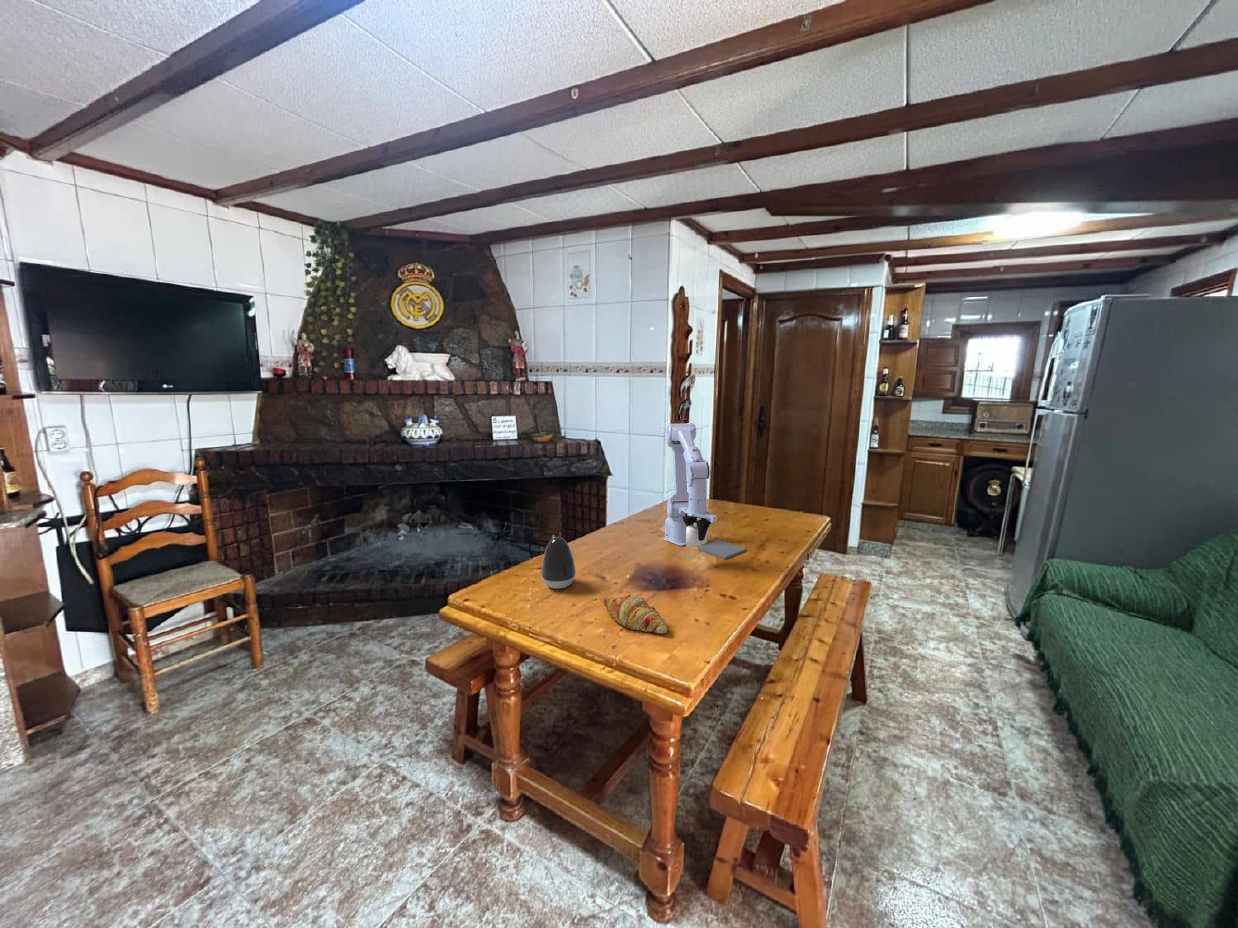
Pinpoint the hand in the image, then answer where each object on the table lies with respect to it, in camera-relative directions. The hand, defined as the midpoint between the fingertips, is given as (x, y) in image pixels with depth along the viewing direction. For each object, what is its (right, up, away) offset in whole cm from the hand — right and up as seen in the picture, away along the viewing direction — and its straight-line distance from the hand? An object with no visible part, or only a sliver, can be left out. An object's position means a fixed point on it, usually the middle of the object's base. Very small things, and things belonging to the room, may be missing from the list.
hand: (696, 538), depth 164 cm
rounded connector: (0, -2, 0) cm, 2 cm away
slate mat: (+11, -6, +13) cm, 18 cm away
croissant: (-22, -17, -35) cm, 44 cm away
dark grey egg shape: (-44, -12, -13) cm, 47 cm away
